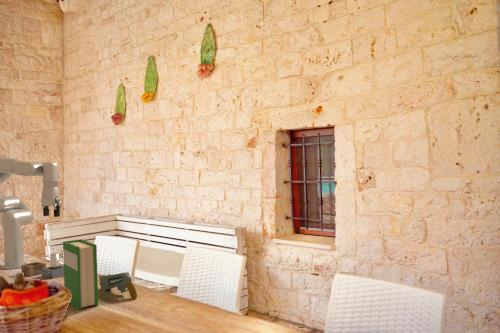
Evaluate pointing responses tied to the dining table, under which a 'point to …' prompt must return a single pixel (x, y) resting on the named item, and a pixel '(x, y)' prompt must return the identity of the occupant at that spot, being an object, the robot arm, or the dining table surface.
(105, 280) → the gun
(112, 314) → the dining table surface
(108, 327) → the dining table surface
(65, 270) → the hardback book
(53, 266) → the axle
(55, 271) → the seat block
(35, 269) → the bore block
